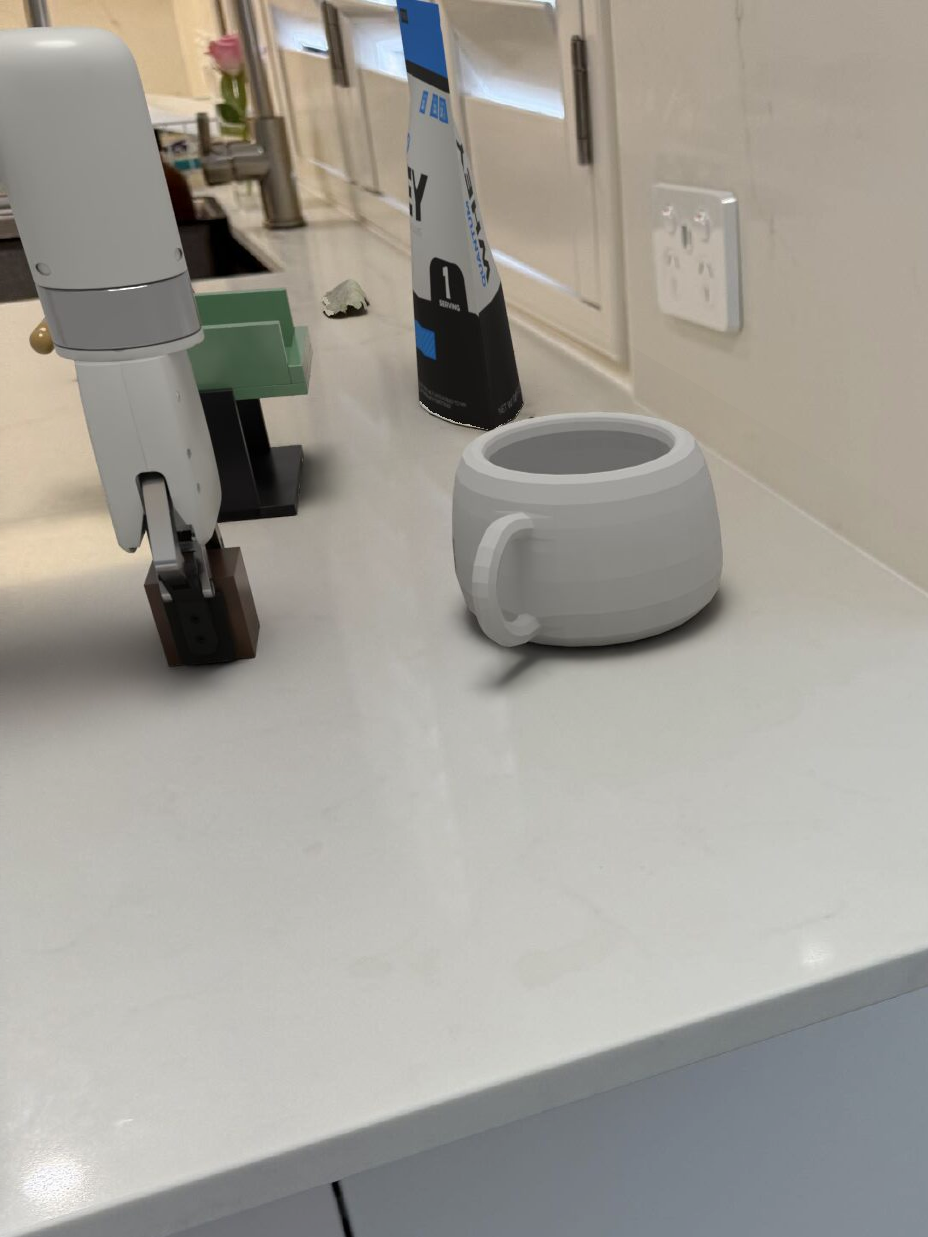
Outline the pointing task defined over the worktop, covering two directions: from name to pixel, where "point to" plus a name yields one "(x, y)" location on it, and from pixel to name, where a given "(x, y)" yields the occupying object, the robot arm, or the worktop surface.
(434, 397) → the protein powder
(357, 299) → the grey jagged shell
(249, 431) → the base
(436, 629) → the worktop surface
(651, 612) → the mug
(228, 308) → the dish
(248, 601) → the block
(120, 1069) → the worktop surface
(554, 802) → the worktop surface
